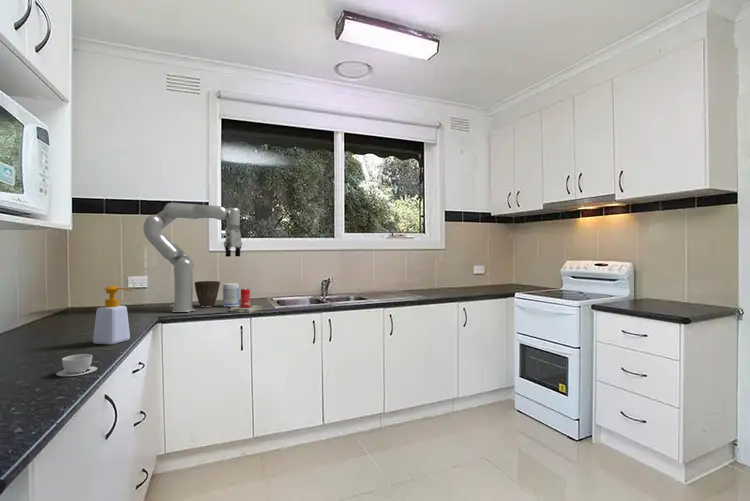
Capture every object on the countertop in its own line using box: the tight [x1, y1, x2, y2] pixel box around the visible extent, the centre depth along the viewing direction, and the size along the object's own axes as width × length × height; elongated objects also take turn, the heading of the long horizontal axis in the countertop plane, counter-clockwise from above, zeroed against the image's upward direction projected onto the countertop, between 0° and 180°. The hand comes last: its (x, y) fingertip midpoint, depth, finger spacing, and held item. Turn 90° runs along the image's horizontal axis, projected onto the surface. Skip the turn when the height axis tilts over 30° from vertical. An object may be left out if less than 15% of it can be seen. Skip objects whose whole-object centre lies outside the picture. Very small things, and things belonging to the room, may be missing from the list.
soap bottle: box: [92, 285, 133, 346], centre depth 161 cm, size 10×14×22 cm
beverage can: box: [240, 288, 251, 308], centre depth 245 cm, size 5×5×12 cm
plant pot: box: [194, 280, 221, 307], centre depth 259 cm, size 15×15×16 cm
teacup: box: [55, 353, 98, 377], centre depth 123 cm, size 10×10×5 cm
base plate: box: [227, 304, 263, 314], centre depth 245 cm, size 14×14×2 cm
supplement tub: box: [222, 282, 240, 306], centre depth 261 cm, size 10×10×15 cm
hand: (233, 256), depth 249 cm, fingers open, 9 cm apart
